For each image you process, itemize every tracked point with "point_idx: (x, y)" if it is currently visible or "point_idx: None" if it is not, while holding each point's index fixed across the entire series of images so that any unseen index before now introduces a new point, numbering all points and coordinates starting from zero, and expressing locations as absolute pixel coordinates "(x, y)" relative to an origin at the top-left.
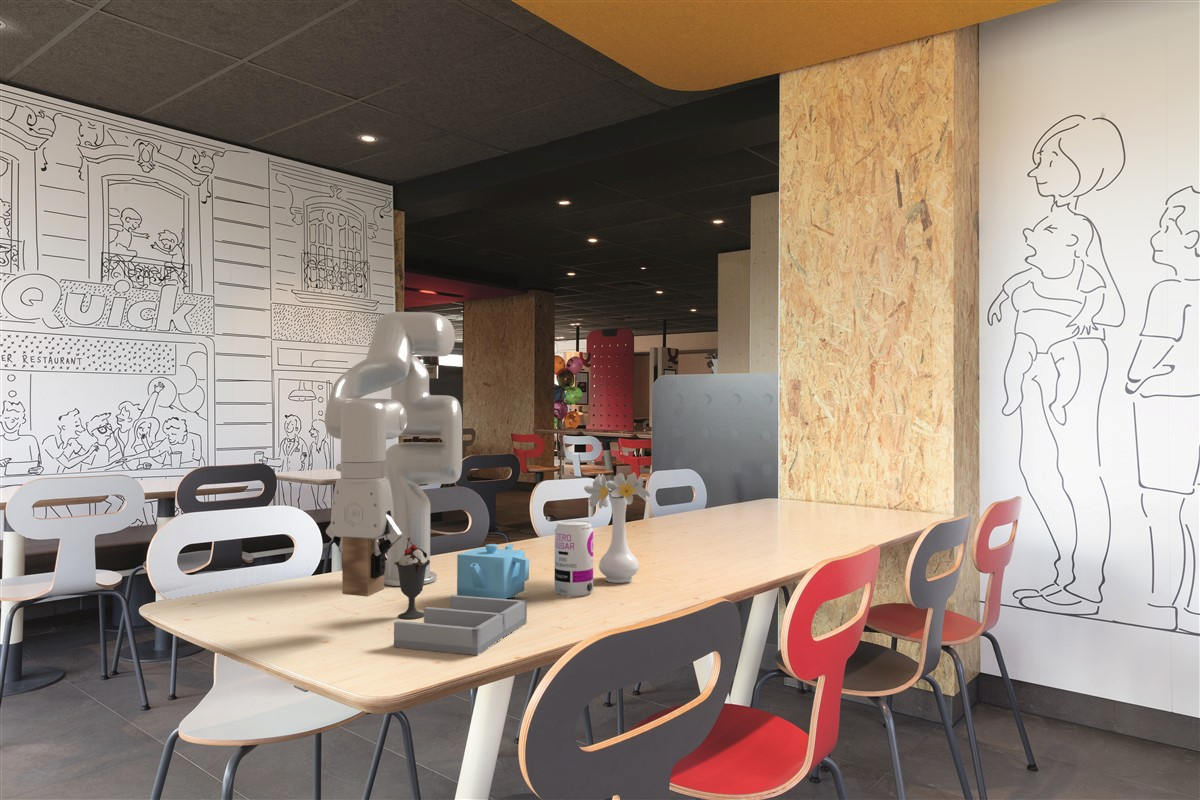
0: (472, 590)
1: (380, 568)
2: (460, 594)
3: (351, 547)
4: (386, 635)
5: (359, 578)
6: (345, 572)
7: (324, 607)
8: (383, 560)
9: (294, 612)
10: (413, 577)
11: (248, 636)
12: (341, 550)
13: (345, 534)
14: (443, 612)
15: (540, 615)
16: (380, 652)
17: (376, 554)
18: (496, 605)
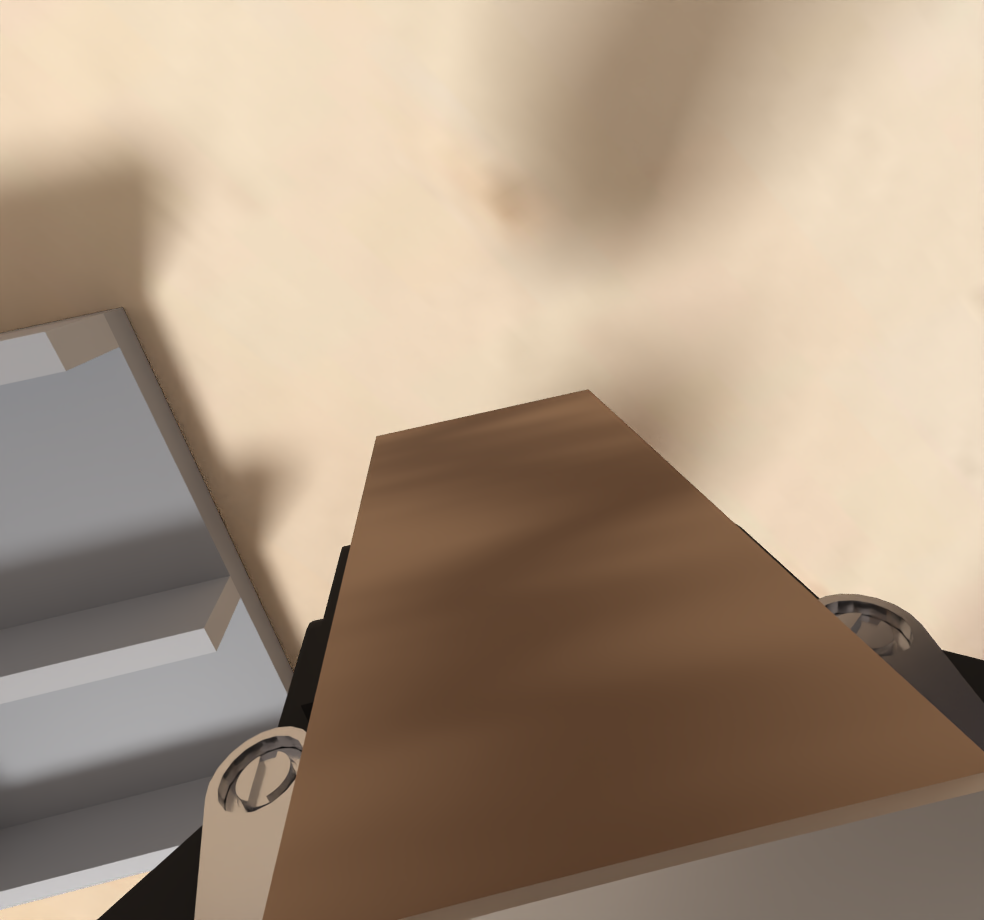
0: None
1: (303, 644)
2: None
3: (643, 654)
4: (334, 432)
5: (450, 472)
6: (615, 454)
7: (883, 578)
8: None
9: (960, 472)
10: None
11: (948, 59)
12: (853, 619)
13: (959, 852)
14: (91, 648)
15: (54, 897)
16: (91, 196)
17: (292, 746)
18: (73, 849)
